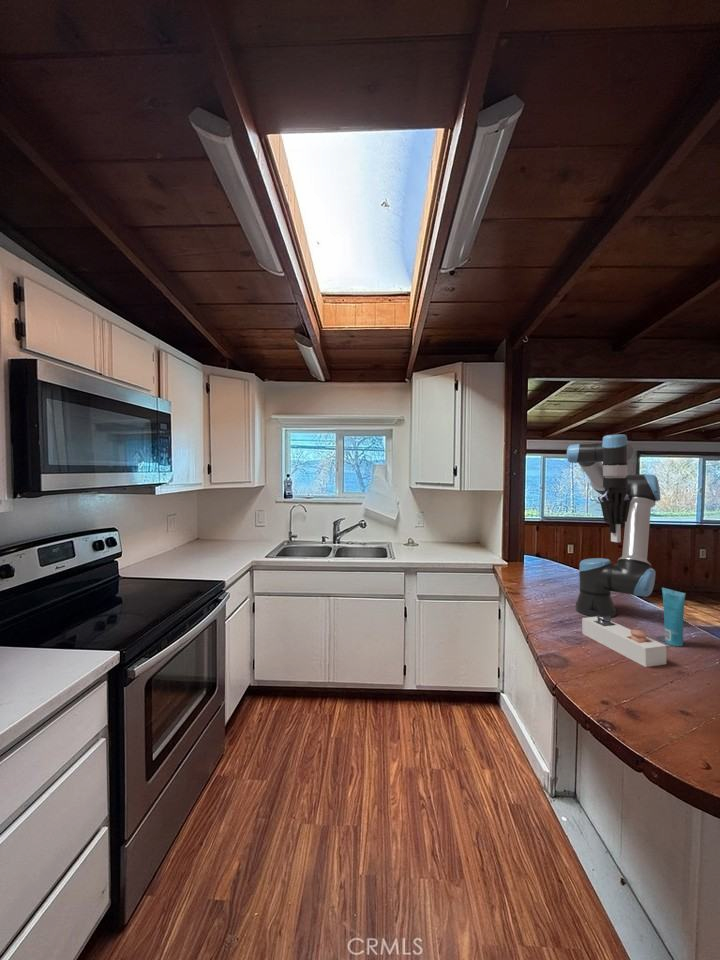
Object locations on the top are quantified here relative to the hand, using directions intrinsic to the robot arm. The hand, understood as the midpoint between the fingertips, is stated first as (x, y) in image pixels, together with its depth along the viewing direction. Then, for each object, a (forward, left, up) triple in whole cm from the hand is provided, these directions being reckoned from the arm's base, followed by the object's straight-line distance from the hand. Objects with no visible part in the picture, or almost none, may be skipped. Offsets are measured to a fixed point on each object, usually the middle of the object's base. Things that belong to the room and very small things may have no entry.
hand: (615, 541), depth 139 cm
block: (+3, +5, -36) cm, 37 cm away
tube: (-17, +7, -37) cm, 41 cm away
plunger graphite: (+4, -2, -35) cm, 36 cm away
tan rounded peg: (+4, +12, -35) cm, 37 cm away
